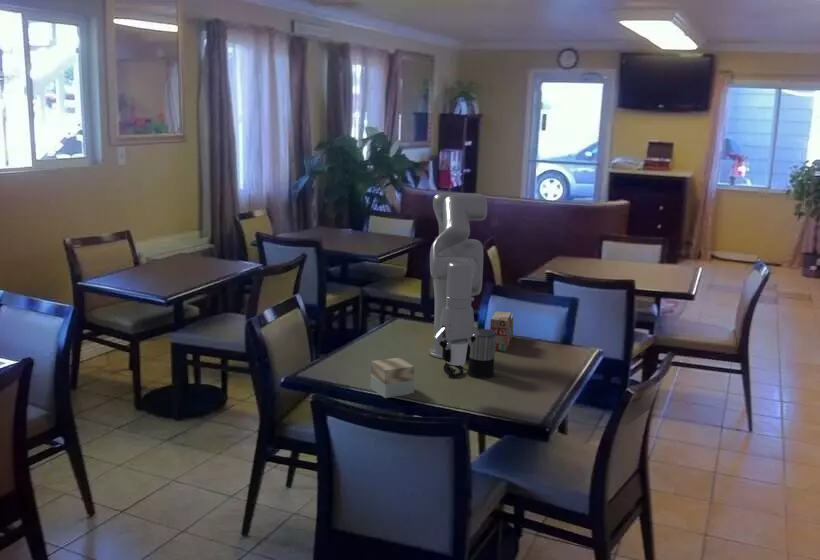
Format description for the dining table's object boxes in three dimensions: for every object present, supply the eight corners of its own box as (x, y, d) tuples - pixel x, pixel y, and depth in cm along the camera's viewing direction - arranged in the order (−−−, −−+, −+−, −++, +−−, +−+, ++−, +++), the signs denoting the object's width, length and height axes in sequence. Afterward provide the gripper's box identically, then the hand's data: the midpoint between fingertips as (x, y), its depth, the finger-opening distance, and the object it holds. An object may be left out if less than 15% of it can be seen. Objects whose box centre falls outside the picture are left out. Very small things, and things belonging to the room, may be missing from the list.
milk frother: (500, 375, 267) (502, 332, 264) (469, 385, 256) (471, 340, 253) (468, 365, 276) (470, 324, 273) (437, 374, 266) (439, 331, 263)
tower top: (399, 370, 255) (399, 357, 254) (413, 380, 246) (414, 366, 245) (371, 374, 250) (371, 361, 249) (384, 384, 241) (385, 370, 241)
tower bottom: (397, 384, 255) (398, 371, 254) (413, 394, 247) (413, 380, 246) (370, 389, 250) (370, 375, 249) (385, 399, 242) (385, 385, 241)
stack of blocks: (497, 335, 315) (498, 305, 313) (512, 337, 314) (514, 306, 311) (488, 350, 295) (490, 318, 292) (505, 352, 293) (507, 319, 291)
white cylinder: (465, 367, 238) (466, 344, 236) (443, 364, 239) (443, 342, 238) (468, 359, 245) (469, 338, 243) (446, 357, 246) (447, 336, 244)
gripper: (475, 296, 245) (472, 352, 249) (427, 302, 237) (425, 359, 241) (489, 302, 239) (486, 359, 243) (440, 308, 230) (438, 367, 234)
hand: (456, 358), depth 242 cm, fingers closed on white cylinder, 6 cm apart
